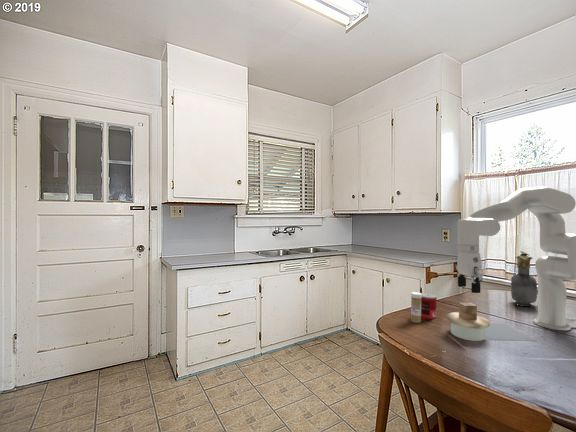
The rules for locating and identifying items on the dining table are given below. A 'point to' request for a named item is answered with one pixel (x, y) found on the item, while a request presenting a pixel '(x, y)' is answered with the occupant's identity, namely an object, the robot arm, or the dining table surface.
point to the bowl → (468, 332)
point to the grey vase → (523, 282)
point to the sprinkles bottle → (416, 307)
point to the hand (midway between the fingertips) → (468, 289)
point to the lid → (468, 317)
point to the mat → (505, 333)
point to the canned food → (428, 306)
